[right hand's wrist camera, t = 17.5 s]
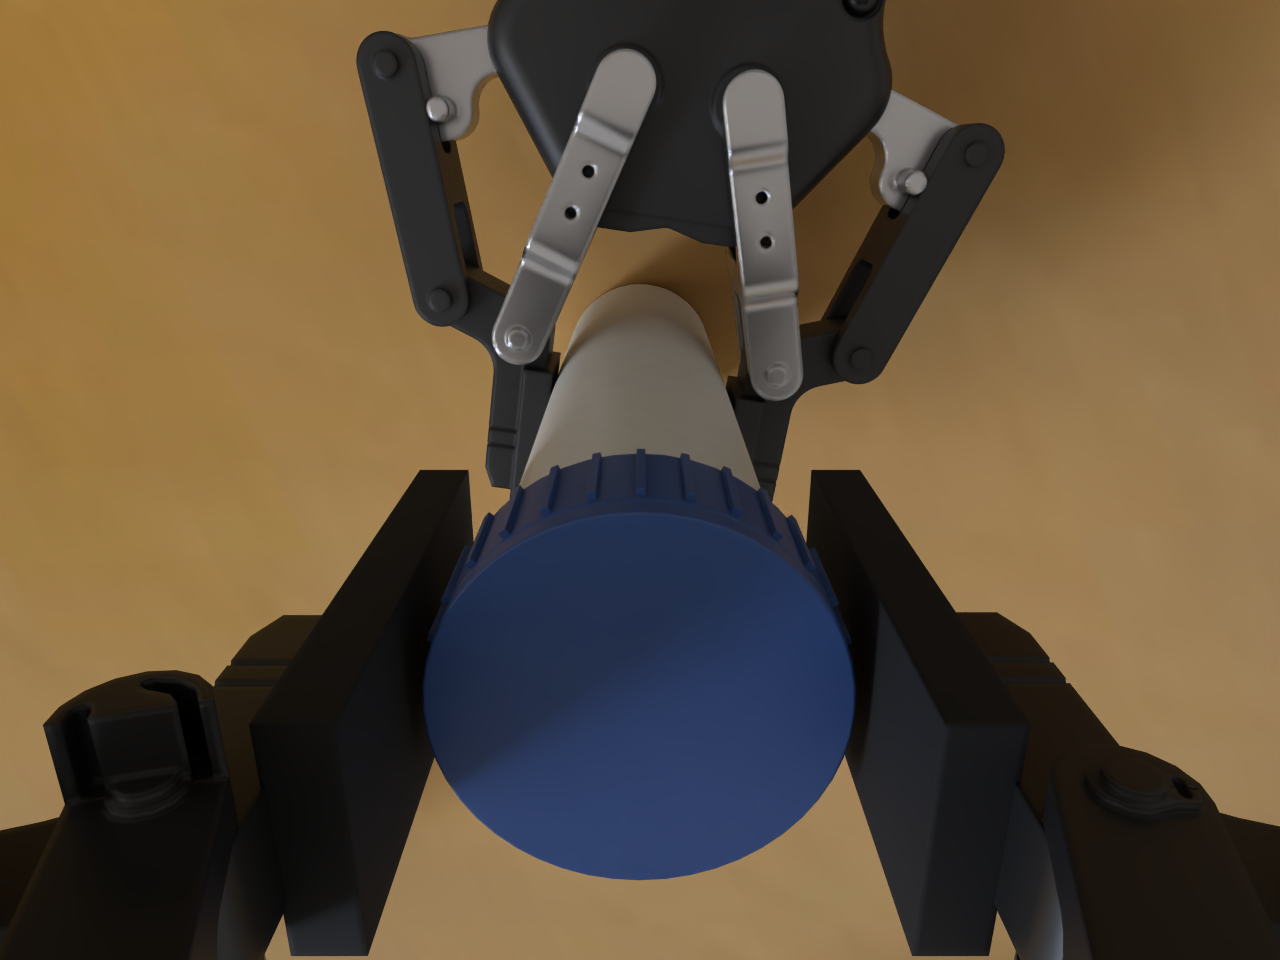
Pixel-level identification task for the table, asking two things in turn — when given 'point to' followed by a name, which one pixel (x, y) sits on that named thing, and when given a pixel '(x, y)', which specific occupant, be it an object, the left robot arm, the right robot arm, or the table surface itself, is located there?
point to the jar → (639, 389)
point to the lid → (639, 670)
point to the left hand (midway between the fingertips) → (623, 512)
